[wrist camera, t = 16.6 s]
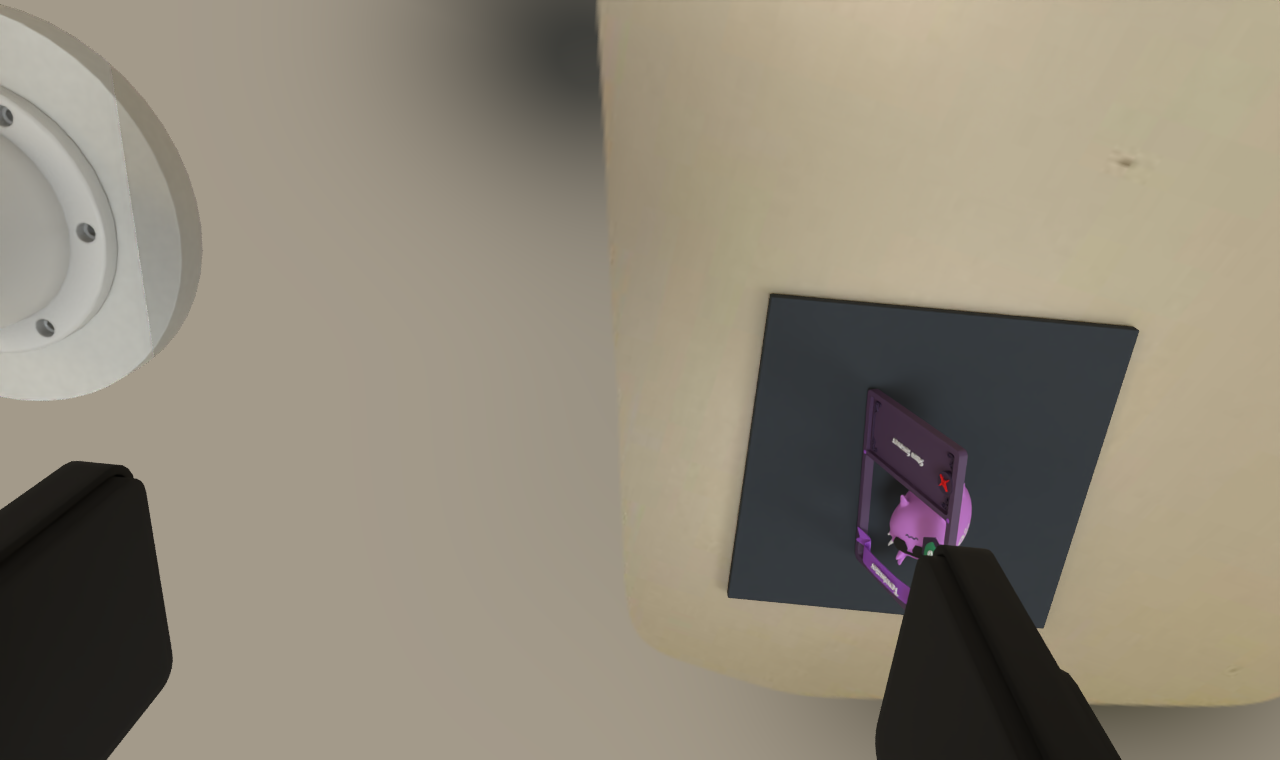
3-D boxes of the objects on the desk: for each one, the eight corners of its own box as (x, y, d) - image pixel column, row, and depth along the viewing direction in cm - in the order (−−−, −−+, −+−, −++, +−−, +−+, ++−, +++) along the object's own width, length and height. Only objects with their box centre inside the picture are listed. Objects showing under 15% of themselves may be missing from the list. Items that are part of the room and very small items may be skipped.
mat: (727, 591, 44) (727, 598, 44) (769, 293, 38) (771, 296, 37) (1040, 622, 44) (1043, 629, 43) (1134, 326, 38) (1139, 330, 37)
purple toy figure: (942, 456, 33) (920, 647, 36) (1058, 435, 34) (1025, 621, 37) (853, 390, 39) (841, 559, 42) (953, 375, 40) (933, 540, 43)
